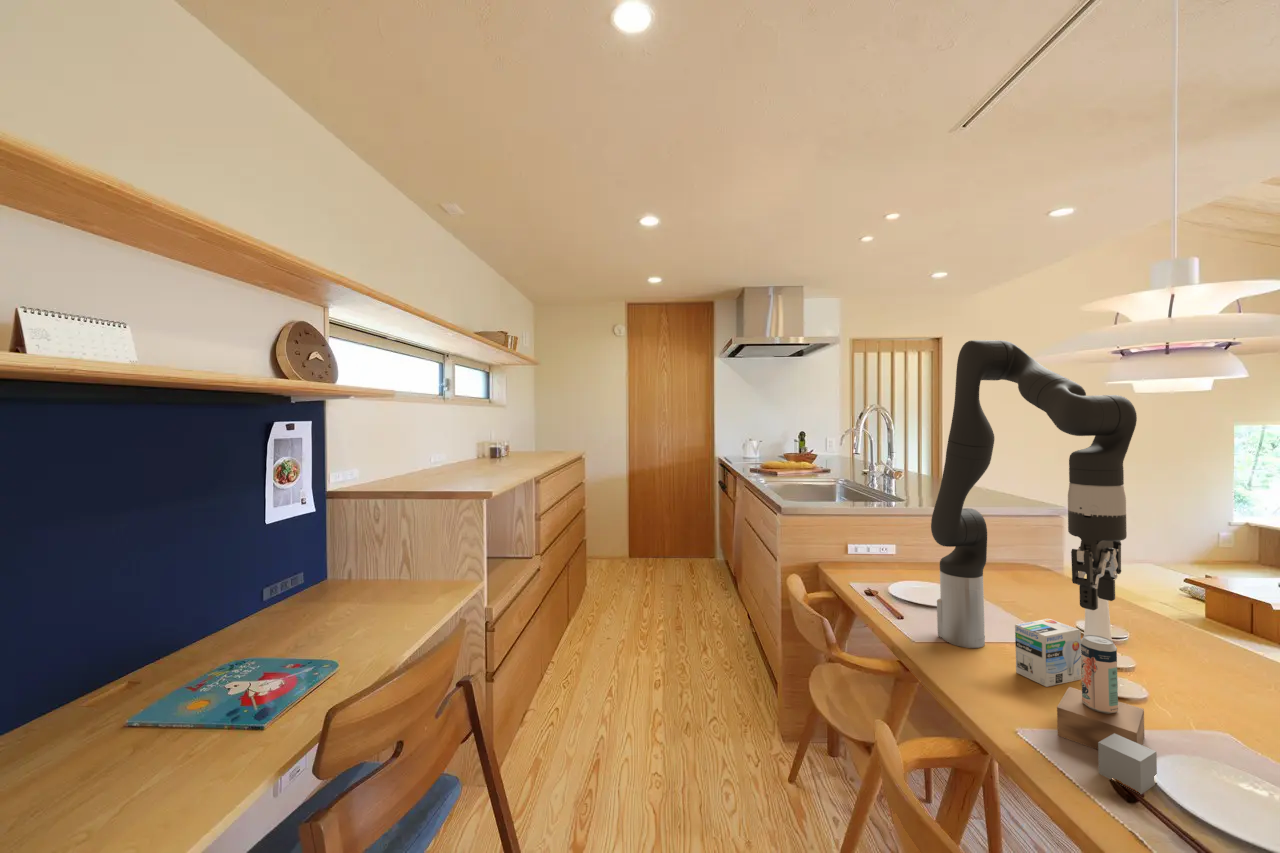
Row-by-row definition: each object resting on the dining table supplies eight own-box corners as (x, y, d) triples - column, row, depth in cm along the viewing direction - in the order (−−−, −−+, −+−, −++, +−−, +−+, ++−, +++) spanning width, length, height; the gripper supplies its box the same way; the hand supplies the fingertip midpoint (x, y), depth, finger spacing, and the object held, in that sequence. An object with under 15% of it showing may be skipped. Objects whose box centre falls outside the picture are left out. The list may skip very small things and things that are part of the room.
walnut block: (1057, 735, 88) (1057, 707, 88) (1069, 713, 94) (1068, 686, 94) (1137, 764, 80) (1136, 733, 80) (1144, 737, 87) (1143, 708, 87)
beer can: (1080, 697, 91) (1079, 631, 91) (1117, 706, 88) (1115, 638, 88) (1082, 709, 87) (1080, 640, 87) (1120, 718, 84) (1118, 648, 84)
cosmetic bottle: (1073, 659, 115) (1071, 563, 115) (1103, 660, 114) (1101, 564, 114) (1093, 672, 109) (1090, 571, 109) (1124, 673, 108) (1122, 572, 108)
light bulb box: (1046, 688, 103) (1045, 636, 103) (1014, 672, 110) (1013, 624, 110) (1083, 679, 106) (1082, 629, 106) (1049, 665, 113) (1048, 617, 113)
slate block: (1098, 773, 78) (1098, 742, 78) (1115, 764, 81) (1114, 733, 80) (1141, 795, 74) (1140, 761, 74) (1157, 784, 76) (1156, 751, 76)
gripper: (1085, 502, 94) (1087, 590, 94) (1051, 511, 87) (1053, 606, 87) (1140, 508, 87) (1142, 602, 87) (1108, 518, 80) (1109, 620, 80)
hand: (1097, 603), depth 87 cm, fingers open, 7 cm apart
